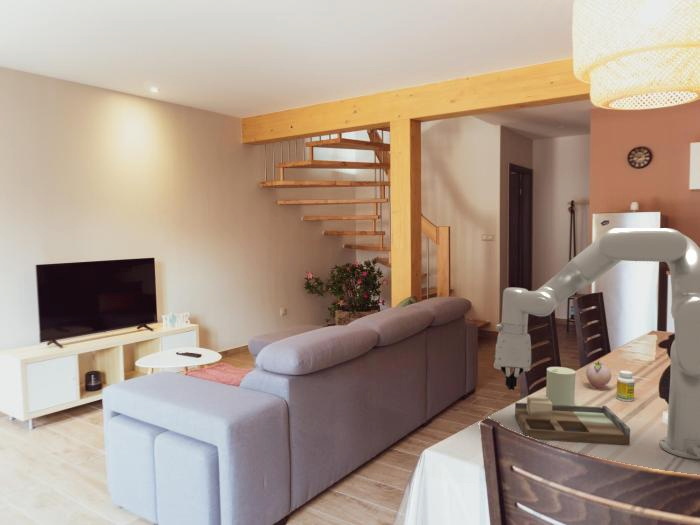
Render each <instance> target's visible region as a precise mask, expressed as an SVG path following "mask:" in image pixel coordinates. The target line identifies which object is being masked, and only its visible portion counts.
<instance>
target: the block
mask: <svg viewBox="0 0 700 525" xmlns="http://www.w3.org/2000/svg"><path fill="white" fill-rule="evenodd" d="M526 403H527V412H528V414H529V415H530V417H533V418H551V419H552V403H551V401H550V400H549V399H548V397H546V396H533V395H532V396H530V395H528V396H526Z"/></svg>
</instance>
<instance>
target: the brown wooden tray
mask: <svg viewBox="0 0 700 525" xmlns="http://www.w3.org/2000/svg"><path fill="white" fill-rule="evenodd" d="M514 404H515V406H514V407H515V408H514V417H515V419H516V420H517V422H518V423H519V426H520V428H521V430H522V432H523V433H524V436H525V437H526V436H529V437H532V438H535V439H534V440H541V441H556V442H557V441H559V442H576V443H592V444H593V443H594V444H609V445H627V446H628V445H629V446H630V445H631V444H630V441H631V428H630V427H629V426H628V425H627V424H626V423H625V422H624V421H623V420H622V419H621V418H620V417H618V415H616V414H615V413H614V411H612V410H611V408H609V407H608V406H607V405H602V406H590V405H589V406H585V405H575V406H570V405H552V419H551V418H533V417H530V415H529V414H528V412H527V402H515V403H514Z"/></svg>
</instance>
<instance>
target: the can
mask: <svg viewBox="0 0 700 525" xmlns="http://www.w3.org/2000/svg"><path fill="white" fill-rule="evenodd" d="M576 375H577V371H576V370H574V369H573V368H570V367H569V368H568V367H565V366H564V367H562V366H549V367H547V368H546V385H545V386H546V388H545V389H546V390H545V397H548V399H549V400H550V401H551V403H552V405H570V406H576V405H575V394H576V391H575V390H576Z"/></svg>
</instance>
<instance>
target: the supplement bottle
mask: <svg viewBox="0 0 700 525" xmlns="http://www.w3.org/2000/svg"><path fill="white" fill-rule="evenodd" d="M633 376H634V374H633V372H632V371H628V370H620V371H619V376H618V377H617V380H616V382H617V383H616V399H617V400H619V401H621V402H622V401H623V402H633V401H634V399H635V379H634V378H633Z"/></svg>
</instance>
